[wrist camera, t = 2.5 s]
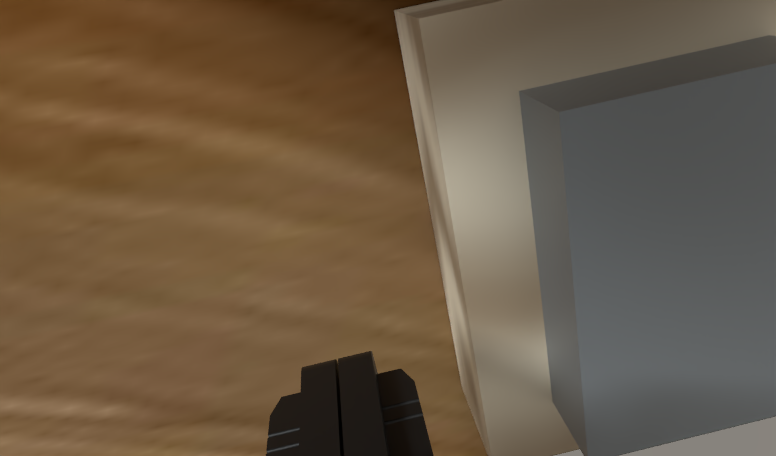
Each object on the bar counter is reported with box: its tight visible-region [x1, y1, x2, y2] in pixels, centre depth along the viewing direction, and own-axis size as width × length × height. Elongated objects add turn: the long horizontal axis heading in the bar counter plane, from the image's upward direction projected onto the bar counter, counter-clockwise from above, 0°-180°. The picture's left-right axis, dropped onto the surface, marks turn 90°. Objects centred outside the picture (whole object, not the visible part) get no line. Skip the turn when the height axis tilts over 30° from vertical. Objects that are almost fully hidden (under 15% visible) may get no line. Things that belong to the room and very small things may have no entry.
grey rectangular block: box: [519, 35, 776, 456], centre depth 15 cm, size 9×6×2 cm, turn 11°
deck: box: [394, 0, 776, 456], centre depth 18 cm, size 13×13×4 cm
